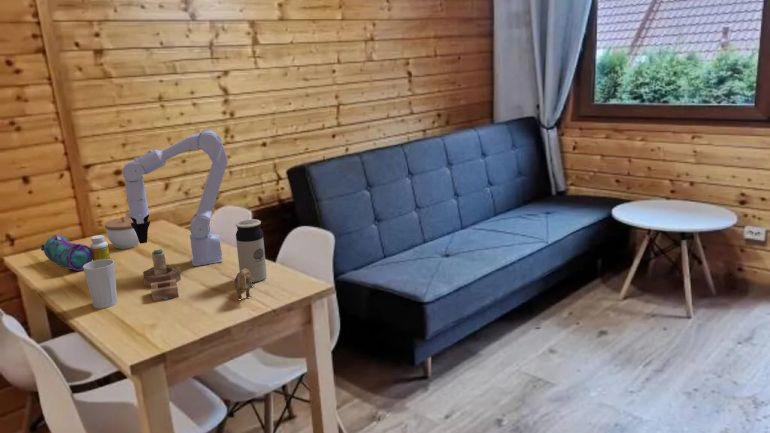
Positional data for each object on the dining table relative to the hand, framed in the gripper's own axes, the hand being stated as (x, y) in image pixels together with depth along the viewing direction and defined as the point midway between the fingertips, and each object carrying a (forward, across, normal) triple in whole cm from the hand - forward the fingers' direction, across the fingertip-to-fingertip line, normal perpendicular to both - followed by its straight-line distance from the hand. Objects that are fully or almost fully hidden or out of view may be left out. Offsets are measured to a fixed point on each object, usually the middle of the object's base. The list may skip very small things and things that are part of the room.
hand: (143, 239), depth 195 cm
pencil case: (+10, -16, -24) cm, 31 cm away
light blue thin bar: (+10, +26, +4) cm, 28 cm away
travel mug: (+10, +26, +30) cm, 41 cm away
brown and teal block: (+10, +14, +4) cm, 18 cm away
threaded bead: (+10, +27, +4) cm, 29 cm away
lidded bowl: (+10, -30, -6) cm, 32 cm away
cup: (+10, +26, -12) cm, 30 cm away
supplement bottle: (+10, -12, -14) cm, 21 cm away
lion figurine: (+10, +38, +26) cm, 47 cm away
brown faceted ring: (+10, +14, +4) cm, 18 cm away
